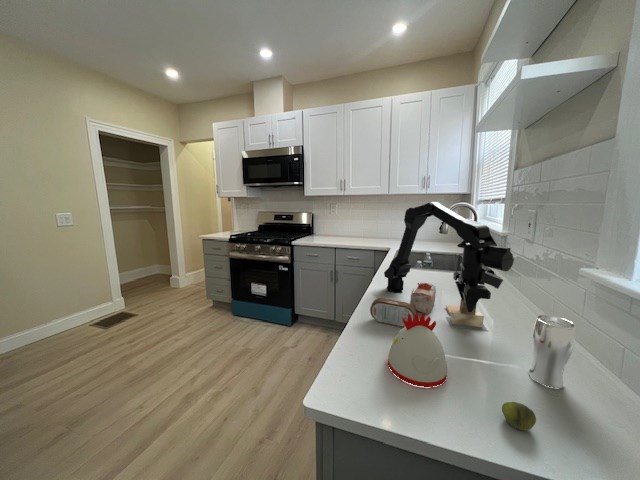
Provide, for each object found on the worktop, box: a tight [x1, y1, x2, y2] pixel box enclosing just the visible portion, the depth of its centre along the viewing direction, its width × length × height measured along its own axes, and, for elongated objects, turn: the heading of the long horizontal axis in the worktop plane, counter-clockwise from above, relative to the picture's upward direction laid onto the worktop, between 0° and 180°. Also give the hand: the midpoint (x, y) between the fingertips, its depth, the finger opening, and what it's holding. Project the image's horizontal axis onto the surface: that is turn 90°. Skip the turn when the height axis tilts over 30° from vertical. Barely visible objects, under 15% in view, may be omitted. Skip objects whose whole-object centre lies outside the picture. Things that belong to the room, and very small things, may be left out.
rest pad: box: [445, 316, 489, 332], centre depth 84 cm, size 11×7×1 cm, turn 74°
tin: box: [369, 297, 417, 328], centre depth 84 cm, size 15×3×8 cm, turn 65°
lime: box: [501, 401, 537, 431], centre depth 46 cm, size 4×5×5 cm
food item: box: [409, 282, 437, 315], centre depth 96 cm, size 14×8×10 cm, turn 149°
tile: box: [445, 305, 460, 316], centre depth 92 cm, size 8×2×6 cm
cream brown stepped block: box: [450, 298, 485, 327], centre depth 83 cm, size 9×2×8 cm, turn 74°
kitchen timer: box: [387, 311, 448, 387], centre depth 62 cm, size 14×14×15 cm
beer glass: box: [528, 314, 577, 389], centre depth 57 cm, size 7×7×15 cm
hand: (467, 308), depth 83 cm, fingers open, 6 cm apart
